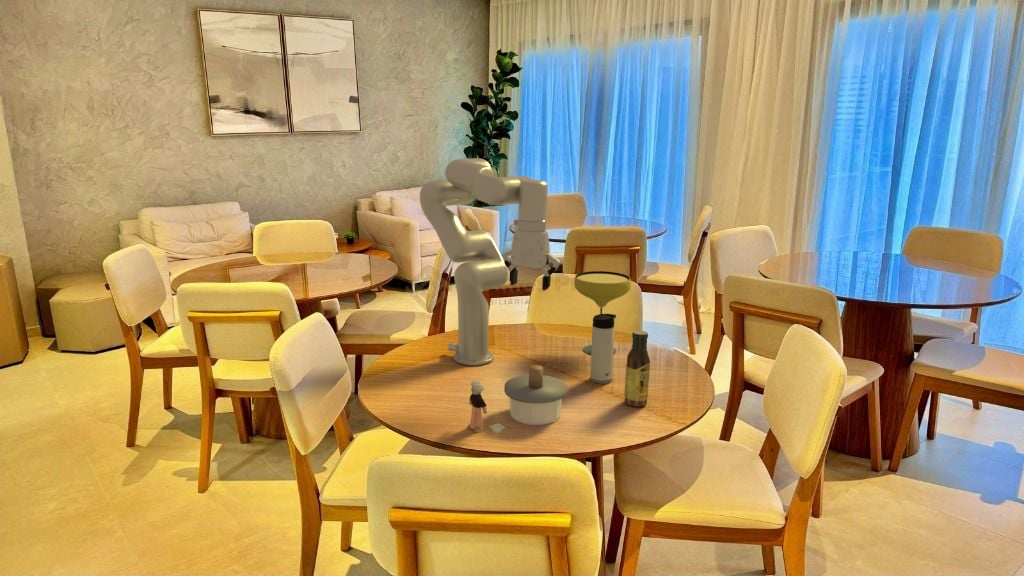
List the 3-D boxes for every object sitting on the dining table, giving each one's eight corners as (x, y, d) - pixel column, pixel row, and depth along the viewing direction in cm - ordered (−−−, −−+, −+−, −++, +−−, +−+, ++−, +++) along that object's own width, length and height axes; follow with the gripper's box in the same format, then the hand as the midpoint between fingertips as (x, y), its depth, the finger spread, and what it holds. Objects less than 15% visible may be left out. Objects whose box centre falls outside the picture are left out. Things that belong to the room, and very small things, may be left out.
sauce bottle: (642, 409, 175) (646, 338, 170) (620, 404, 178) (623, 333, 173) (651, 401, 180) (655, 331, 175) (629, 396, 183) (633, 327, 179)
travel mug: (612, 385, 191) (615, 318, 186) (589, 383, 192) (592, 316, 188) (613, 377, 197) (616, 312, 192) (591, 375, 198) (593, 310, 194)
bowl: (501, 419, 168) (502, 395, 167) (521, 400, 180) (522, 378, 178) (550, 429, 163) (550, 404, 162) (567, 409, 175) (568, 386, 173)
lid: (496, 398, 165) (496, 375, 164) (514, 376, 180) (515, 354, 178) (558, 407, 160) (559, 383, 159) (572, 383, 175) (573, 360, 174)
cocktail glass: (594, 338, 233) (597, 268, 227) (637, 350, 220) (642, 277, 214) (561, 350, 220) (563, 276, 214) (605, 364, 208) (608, 286, 202)
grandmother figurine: (460, 426, 164) (460, 378, 161) (472, 421, 167) (472, 374, 164) (481, 436, 159) (481, 387, 156) (493, 431, 162) (493, 383, 159)
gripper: (497, 224, 181) (495, 285, 185) (556, 231, 174) (553, 294, 178) (509, 220, 187) (507, 279, 192) (566, 227, 180) (563, 288, 185)
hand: (529, 286), depth 185 cm, fingers open, 9 cm apart
